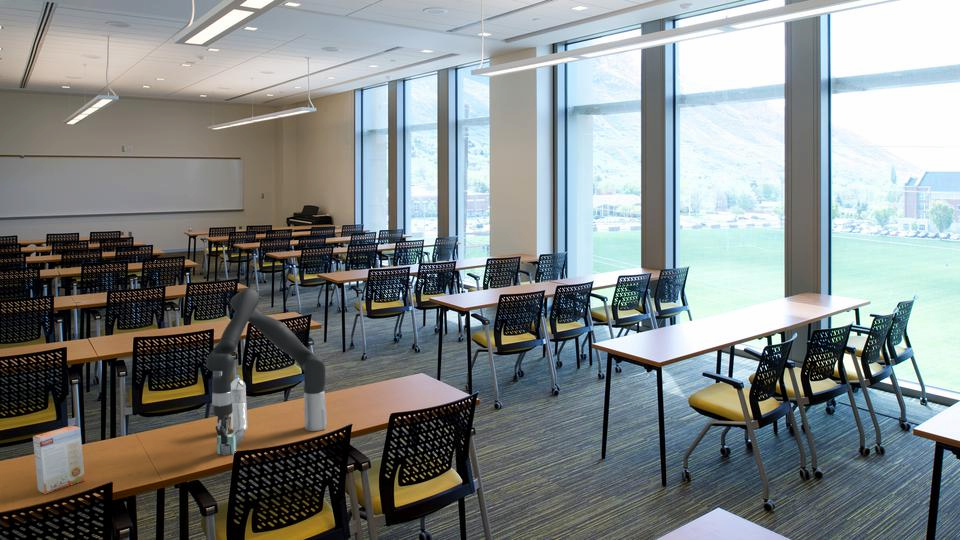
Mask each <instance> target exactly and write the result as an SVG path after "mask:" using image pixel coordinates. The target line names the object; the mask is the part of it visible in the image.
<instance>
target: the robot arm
mask: <svg viewBox="0 0 960 540" xmlns="http://www.w3.org/2000/svg"><path fill="white" fill-rule="evenodd" d="M259 304H260V295H259V293H258V292H257V290H255V289H253V288H245V289H243V290H240V291H238V293H236V294H235V295H234V296H232V298H231V300H230V306H231V307H232V309H233V310H234V311H235V313H234V315H233V317H232V319H230V322H229V323H227V325H226V327H225V328H224V330H223V333H222V335H221V336H220V339H219V342H218V343H217V344H216V346H215V347H214V348H213V350H211V351H210V353H209V354H208V356H207V358H206V363H205V364H206V365H205V366H206V368H207V370H209V371H210V372H222V373H221V375H218V376H215V377H213V378H212V379H211V380H212V381H211V384H212V385H211V387H212V389H211V390H212V398H211V399H212V401H211V402H212V415H213V416H215V417H217V420H216V424H217V425H215V430H216V433H217V436H218V435H219V436H221V444H222V445H223V444H227V443H228V438H227V434H229V431H230V429H231V428H230V426H231V413H232V412H233V406H232V393H231V383H232V375H233V371H234V367H235V358H234V356H233V355H232V353H234V352H235V351H236V350H237V346H238V344H239V342H240V339H241V337H242V334H243V333H244V330H245V328H246V326H247V324H248V323H250V324H251V325H252V326H253V327H255V328H256V329H257V330H258V331H259V332H260V333H261V334H263V336H264V337H265V338H266V339H268V340H269V341H270V342H271V343H272V344H273V345H275V347H276V348H277V349H279V350H280V351H282V352H283V353H285V354H287V355H289V356H290V358H292V359H293V360H294V361H295V362H296V363H297V364H298V366H300V368H301V369H302V371H303V373H304V374H303V375H304V377H303V378H304V379H303V380H304V385H303V405H304V406H303V408H304V410H303V411H304V429H305V430H306V431H309V432H317V431H318V432H319V431H322V430H323V431H324V429H325V430H326V428H327V426H326V425H327V422H328V421H327V420H328V419H327V404H326V392H325V390H326V387H325V386H326V365H325V362H324V360H322V358H321V357H320V356H318V355H317V354H315V353H314V352H313V351H312V350H310V349H308V348H307V347H306V346H305V345H304V344H303V343H302V342H301V341H300V339H299V338H298V337H297V335H295V333H294V332H293V331H292V330H291V329H290V328H289V327H288V326H287V325H286V324H285V323H283V322H282V321H280V320H278V319H276V318H273V317H271V316H269V315H266V314H264V313H262V312H261V311H260V310H259V309H257V307H258V305H259ZM325 427H326V428H325Z"/></svg>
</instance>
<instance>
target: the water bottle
mask: <svg viewBox="0 0 960 540" xmlns="http://www.w3.org/2000/svg"><path fill="white" fill-rule="evenodd" d="M246 388H247V386H246V383H245V381H244V380H242V379H241V378H240V375H238V374H237V375H235V376H234V379H233V380H232V381H231V393H232V406H233V412H232V413H231V414H230V417H231V421H230V426H231V431H232V432H234V431H235V429H244V432H245V431H247V430H248V411H247V410H248V409H247V408H248V407H247V405H248V404H247V393H246V391H247V389H246Z"/></svg>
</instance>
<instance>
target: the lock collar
mask: <svg viewBox="0 0 960 540" xmlns="http://www.w3.org/2000/svg"><path fill="white" fill-rule="evenodd" d="M227 438H228V443H227V444H231V455H235V454H234V451H236V452H237V447H236V436H235V434H232V433H230V434H229V433H228V434H227ZM222 445H223V444H221V436H219V435H218V434H217V436H216V447H217V448H216V449H217V455H218V454H219V455H221V446H222Z"/></svg>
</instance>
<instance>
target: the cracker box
mask: <svg viewBox="0 0 960 540" xmlns="http://www.w3.org/2000/svg"><path fill="white" fill-rule="evenodd" d="M32 441H33V452H34V453H33V454H34V461H35V473H36V474H35V475H36V483H37V491H38V490H39V491H41V492H43V493H47V492H50V491H53V490H56V489H59V488H62V487H65V486H67V485H71V484H74V483H77V484H80V483H83V482H85V478H86V477H85V471H84V470H85V467H84V457H83V446H82V434H81V427H79V426H76V425H68V426H65V427H61V428H58V429H55V430H50V431H47V432H43V433H40V434H36V435H33V436H32ZM82 481H83V482H82ZM79 482H80V483H79ZM74 485H75V484H74ZM71 486H72V485H71ZM65 488H66V487H65ZM62 489H63V488H62ZM39 491H38V492H39ZM41 492H40V493H41ZM43 493H42V494H43Z"/></svg>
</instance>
